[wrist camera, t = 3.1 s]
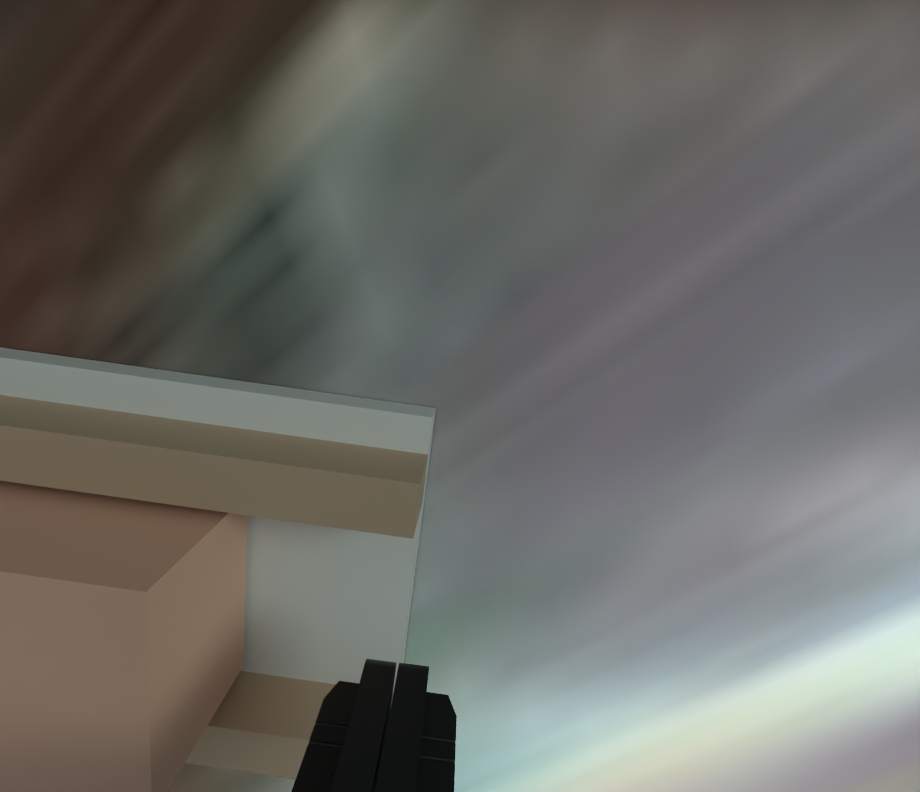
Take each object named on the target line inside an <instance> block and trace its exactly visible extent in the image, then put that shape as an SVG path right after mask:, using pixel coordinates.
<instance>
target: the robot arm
mask: <svg viewBox="0 0 920 792" xmlns="http://www.w3.org/2000/svg"><path fill="white" fill-rule="evenodd" d="M428 671H429V667H427V666H420V665H412V664H405V663H399V666H398V671H397V676H396V682H395V687H394V680H395V672H396V662H389V661H381V660H374V659H366V661H365V664H364V668H363V672H362V676H361V679H360V683H352V682H345V681H338V683H337V684H336V685H335V686H334V687H333V688H332V689H331V691H330V692H329V693H328V694H327V695H326V696H325V698H324V699H323V702H322V705H321V707H320V710H319V713H318V716H317V719H316V723H315V726H314V728H313V731H312V734H311V737H310V740H309V744H308V745H307V748H306V751H305V754H304V757H303V760H302V763H301V766H300V769H299V772H298V774H297V777H296V780H295V783H294V786H293V789H292V792H454V773H455V740H456V714H455V711H454V709H453V706H452V704H451V701H450V699H449V696H448V695H444V694H436V693H429V692H426V690H427V681H428ZM393 687H394V693H393ZM392 695H393V698H392ZM391 702H392V704H391Z"/></svg>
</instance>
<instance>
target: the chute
mask: <svg viewBox="0 0 920 792" xmlns="http://www.w3.org/2000/svg"><path fill="white" fill-rule="evenodd" d="M435 411H436V408H432V407H424V406H417V405H410V404H403V403H396V402H388V401H381V400H374V399H367V398H360V397H353V396H345V395H338V394H331V393H324V392H317V391H309V390H302V389H295V388H288V387H281V386H274V385H266V384H259V383H252V382H245V381H238V380H231V379H223V378H216V377H209V376H202V375H195V374H187V373H180V372H173V371H166V370H159V369H152V368H144V367H137V366H130V365H123V364H116V363H108V362H101V361H94V360H87V359H80V358H73V357H65V356H58V355H51V354H44V353H37V352H30V351H22V350H15V349H8V348H1V347H0V481H7V482H14V483H21V484H28V485H35V486H42V487H49V488H56V489H64V490H71V491H78V492H85V493H92V494H99V495H106V496H113V497H120V498H127V499H135V500H142V501H149V502H156V503H163V504H170V505H177V506H184V507H191V508H198V509H205V510H213V511H220V512H227V513H234V514H241V515H248V525H247V558H246V591H245V625H244V658H243V667H242V669H241V671H240V672H239V674H238V676H237V677H236V679H235V681H234V682H233V684H232V686H231V687H230V689H229V691H228V692H227V694H226V696H225V697H224V699H223V701H222V702H221V704H220V706H219V707H218V709H217V711H216V712H215V714H214V716H213V717H212V719H211V720H210V722H209V724H208V725H207V727H206V729H205V730H204V732H203V734H202V735H201V737H200V739H199V740H198V742H197V744H196V745H195V747H194V749H193V750H192V752H191V754H190V755H189V757H188V759H187V760H186V762H185V763H186V764H193V765H200V766H207V767H214V768H221V769H228V770H235V771H242V772H249V773H256V774H263V775H270V776H277V777H284V778H290V779H296V777H297V774H298V772H299V769H300V766H301V763H302V760H303V757H304V754H305V751H306V748H307V745H308V744H309V740H310V737H311V734H312V731H313V728H314V726H315V723H316V719H317V716H318V713H319V710H320V707H321V705H322V702H323V699H324V698H325V696H326V695H327V694H328V693H329V692H330V691H331V689H332V688H333V687H334V686H335V685H336V684H337V683H338V681H345V682H352V683H360V679H361V676H362V672H363V668H364V664H365V661H366V659H374V660H381V661H389V662H396V672H395V680H394V687H395V682H396V676H397V671H398V666H399V663H404V657H405V649H406V641H407V634H408V626H409V618H410V610H411V602H412V594H413V586H414V578H415V570H416V562H417V554H418V546H419V538H420V530H421V522H422V514H423V507H424V499H425V491H426V483H427V475H428V467H429V459H430V451H431V443H432V435H433V427H434V419H435ZM394 687H393V693H394ZM392 698H393V695H392ZM391 704H392V702H391Z"/></svg>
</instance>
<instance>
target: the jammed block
mask: <svg viewBox="0 0 920 792" xmlns="http://www.w3.org/2000/svg"><path fill="white" fill-rule="evenodd" d="M247 525H248V515H241V514H234V513H227V512H220V511H213V510H205V509H198V508H191V507H184V506H177V505H170V504H163V503H156V502H149V501H142V500H135V499H127V498H120V497H113V496H106V495H99V494H92V493H85V492H78V491H71V490H64V489H56V488H49V487H42V486H35V485H28V484H21V483H14V482H7V481H0V792H168V790H169V789H170V787H171V785H172V784H173V782H174V780H175V779H176V777H177V775H178V774H179V772H180V770H181V769H182V767H183V765H184V764H185V762H186V760H187V759H188V757H189V755H190V754H191V752H192V750H193V749H194V747H195V745H196V744H197V742H198V740H199V739H200V737H201V735H202V734H203V732H204V730H205V729H206V727H207V725H208V724H209V722H210V720H211V719H212V717H213V716H214V714H215V712H216V711H217V709H218V707H219V706H220V704H221V702H222V701H223V699H224V697H225V696H226V694H227V692H228V691H229V689H230V687H231V686H232V684H233V682H234V681H235V679H236V677H237V676H238V674H239V672H240V671H241V669H242V667H243V658H244V625H245V591H246V558H247Z"/></svg>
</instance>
